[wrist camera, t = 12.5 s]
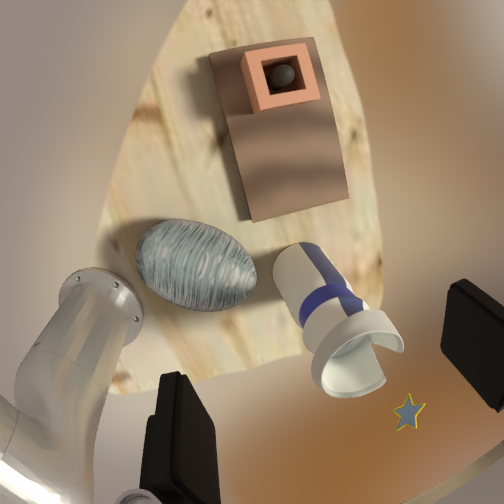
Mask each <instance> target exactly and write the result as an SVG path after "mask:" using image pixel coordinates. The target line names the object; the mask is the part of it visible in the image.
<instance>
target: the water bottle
mask: <svg viewBox="0 0 504 504" xmlns="http://www.w3.org/2000/svg"><path fill="white" fill-rule="evenodd" d="M272 274H273V280H274V282H275V284H276V286H277V288H278V290H279V291H280V293H281V295H282V297H283V299H284V301H285V303H286V305H287V307H288V309H289V311H290V313H291V315H292V317H293V319H294V321H295V322H296V323H297V324H298V326H299V327H301V328H302V329H303V341H304V344H305V346H306V347H307V349H308V350H309V351H310V352H312V353H313V354H314V357H313V360H312V366H311V373H312V378H313V380H314V382H315V383H316V385H317V386H318V387H319V388H321V389H322V390H324V391H325V392H326V393H327V394H329V395H330V396H333V397H337V398H353V397H358V396H362V395H365V394H367V393H370V392H372V391H374V390H375V389H377V388H379V387H381V386H382V385H383V384H384V383H385V381H386V378H385V376H384V374H383V372H382V370H381V368H380V365H379V363H378V361H377V359H376V356H375V354H374V351H373V349H372V346H371V343H375V344H378V345H381V346H384V347H386V348H389V349H391V350H394V351H396V352H399V353H401V352H402V351H403V350H404V344H403V340H402V338H401V337H400V335H399V334H398V332H397V330H396V329H395V327H394V326H393V324H392V323H391V321H390V320H389V319H388V318H387V316H386V314H385V313H384V312H383V311H381V310H370V309H369V307H368V305H367V304H366V303H365V302H364V301H363V300H362V299H360V298H358V297H356V296H355V295H354V293H353V290H352V288H351V286H350V284H349V283H348V281H347V280H346V279H345V277H344V276H343V275H342V274H341V273H340V271H339V270H338V269H337V268H336V267H335V265H334V264H333V263H332V261H331V260H330V259H329V257H328V256H327V255H326V253H325V252H324V251H323V250H322V249H321V248H320V247H319V246H317V245H315V244H312V243H307V242H302V243H296V244H293V245H291V246H289V247H287V248H286V249H284V250H283V251H282V252H281V253H280V254H279V256H278V257H277V259H276V260H275V263H274V266H273V271H272ZM424 406H425V403H423V404H413V402H412V398H411V395H410V393H409V394H408V396H407V398H406V400H405V402H404V404H403V405H402V406H400V407H397V408H395V409H393V411H394V412H395V414H396V415H398V416H399V417H400V418H399V421H398V424H397V427H396V431H398V430H400V429H401V428H403V427H404V426H405V425H408V426H411V427H413V428H417V422H416V416H417V414H418V413H419V412H420V411H421V409H422V408H423V407H424Z"/></svg>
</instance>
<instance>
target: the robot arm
mask: <svg viewBox="0 0 504 504" xmlns="http://www.w3.org/2000/svg"><path fill="white" fill-rule="evenodd" d="M116 282H117V283H116ZM142 322H143V310H142V306H141V303H140V301H139V298H138V296H137V295H136V293H135V292H134V290H133V289H132V288H131V287H130V285H129V284H128V283H127V282H126V281H124V280H123V279H122V278H120V277H119V276H117V275H116V274H114V273H112V272H110V271H107V270H104V269H99V268H85V269H82V270H78V271H76V272H75V273H73V274H72V275H71V276H69V277H68V278H67V279H66V281H65V282H64V283H63V285H62V287H61V289H60V294H59V309H58V310H57V312H56V313H55V314H54V316H53V317H52V318H51V320H50V321H49V323H48V324H47V326H46V327H45V328H44V330H43V331H42V333H41V334H40V336H39V337H38V339H37V340H36V342H35V343H34V345H33V346H32V348H31V349H30V351H29V352H28V354H27V355H26V357H25V358H24V360H23V361H22V363H21V364H20V366H19V369H18V371H17V374H16V377H15V384H14V400H15V407H14V406H13V405H12V404H10V403H9V402H8V401H7V400H6V399H5V398H4V397H3V396H1V395H0V504H93V502H94V470H93V460H94V446H95V439H96V434H97V430H98V425H99V421H100V417H101V414H102V410H103V406H104V404H105V400H106V397H107V394H108V390H109V387H110V384H111V381H112V377H113V374H114V371H115V368H116V365H117V362H118V359H119V356H120V353H121V350H122V347H124V346H127V345H128V344H130V343H131V342H132V341H133V340H134V339H135V338H136V337H137V336H138V334H139V332H140V329H141V326H142ZM440 346H441V350H442V352H443V354H444V355H445V356H446V357H447V358H448V359H449V360H450V362H451V363H452V364H453V365H454V366H455V367H456V368H457V369H458V371H459V372H460V373H461V374H462V375H463V376H464V377H465V378H466V380H467V381H468V382H469V383H470V384H471V386H472V387H473V388H474V389H475V390H476V391H477V392H478V394H479V395H480V396H481V397H482V399H483V400H484V401H485V402H486V403H487V405H488V406H489V407H490V408H494V409H495V410H496V411H497V413H499V412H500V411H501V410H503V409H504V306H502V305H501V304H500V303H499V302H497V301H496V300H494V299H493V298H492V297H490V296H489V295H488V294H486V293H485V292H484V291H482V290H481V289H480V288H478V287H477V286H475V285H474V284H473V283H471V282H470V281H468V280H467V279H461V280H459V281H457V282H455V283H453V284H451V286H450V289H449V290H448V294H447V304H446V311H445V319H444V326H443V333H442V338H441V344H440ZM115 504H221V499H220V488H219V476H218V464H217V450H216V434H215V426H214V423H213V421H212V419H211V418H210V416H209V414H208V413H207V411H206V409H205V407H204V406H203V404H202V402H201V400H200V399H199V397H198V395H197V393H196V392H195V390H194V388H193V386H192V384H191V382H190V380H189V379H188V377H187V375H186V374H184V375H181V374H180V372H179V371H176V372H171V373H166V374H162V375H161V377H160V382H159V389H158V396H157V403H156V411H155V415H151V416H150V417H149V418H148V421H147V426H146V434H145V441H144V449H143V457H142V466H141V476H140V485H139V489H132V490H128V491H126V492H124V493H123V494H122V495H121V496H120V497H118V499H117V500H116V502H115ZM401 504H504V440H503V441H502V442H501V443H499V444H498V445H497V446H496V447H494V448H493V449H492V450H490V451H489V452H488V453H486V454H485V455H483V456H482V457H480V458H479V459H478V460H476V461H475V462H473V463H472V464H470V465H469V466H467V467H466V468H464V469H463V470H461V471H460V472H458V473H456V474H455V475H453V476H451V477H450V478H448V479H446V480H445V481H443V482H441V483H440V484H438V485H436V486H434V487H432V488H431V489H429V490H427V491H425V492H423V493H422V494H419V495H417V496H415V497H413V498H411V499H410V500H407V501H405V502H403V503H401Z"/></svg>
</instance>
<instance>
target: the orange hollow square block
mask: <svg viewBox="0 0 504 504" xmlns="http://www.w3.org/2000/svg"><path fill="white" fill-rule="evenodd" d="M279 65H289V66H290V67H292V68H293V70H294V72H295V77H294V79H293V81H292V82H290V85H291V89H292V91H291V92H286V93H280V94H275V95H270V94H269V90H268V86H267V83H266V79H265V75H264V72H263V69H269V68H275V67H277V66H279ZM240 66H241V69H242V73H243V77H244V80H245V84H246V88H247V91H248V95H249V99H250V103H251V106H252V110H253V114H256V113H260V112H265V111H270V110H274V109H279V108H284V107H289V106H295V105H300V104H306V103H309V102H312V101H315V100H319V99H321V98H320V94H319V90H318V86H317V82H316V78H315V75H314V71H313V67H312V64H311V60H310V57H309V53H308V50H307V46H306V43H300V44H292V45H284V46H277V47H271V48H264V49H259V50H253V51H248V52H245V53H244V55H243V58H242V60H241V63H240Z"/></svg>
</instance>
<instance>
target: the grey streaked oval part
mask: <svg viewBox="0 0 504 504" xmlns="http://www.w3.org/2000/svg"><path fill="white" fill-rule="evenodd" d="M136 266H137V270H138V273H139V275H140V277H141V278H142V280H143V281H144V283H145V284H146V285H147V287H148V288H150V289H151V290H152V291H153V292H154V293H155V294H157V295H158V296H160V297H162V298H164V299H165V300H167V301H169V302H171V303H173V304H176V305H178V306H180V307H183V308H187V309H190V310H196V311H204V312H214V311H221V310H225V309H228V308H231V307H234V306H236V305H237V304H239V303H241V302H242V301H243V300H244V299H246V298H247V297H248V296H249V295H250V294H251V293H252V292H253V290H254V288H255V286H256V281H257V276H256V271H255V267H254V264H253V262H252V259H251V257H250V256H249V254H248V253H247V251H246V250H245V249H244V247H243V246H242V245H241V244H240V243H239V242H238V241H237V240H235V239H234V238H233V237H232V236H230V235H228V234H227V233H225V232H223V231H221V230H220V229H217V228H215V227H213V226H210V225H207V224H203V223H201V222H195V221H191V220H184V219H169V220H164V221H161V222H159V223H156V224H155V225H153V226H152V227H150V228H149V229H148V230H147V231H146V232H145V233H144V234H143V236H142V237H141V239H140V241H139V243H138V245H137V249H136Z"/></svg>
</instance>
